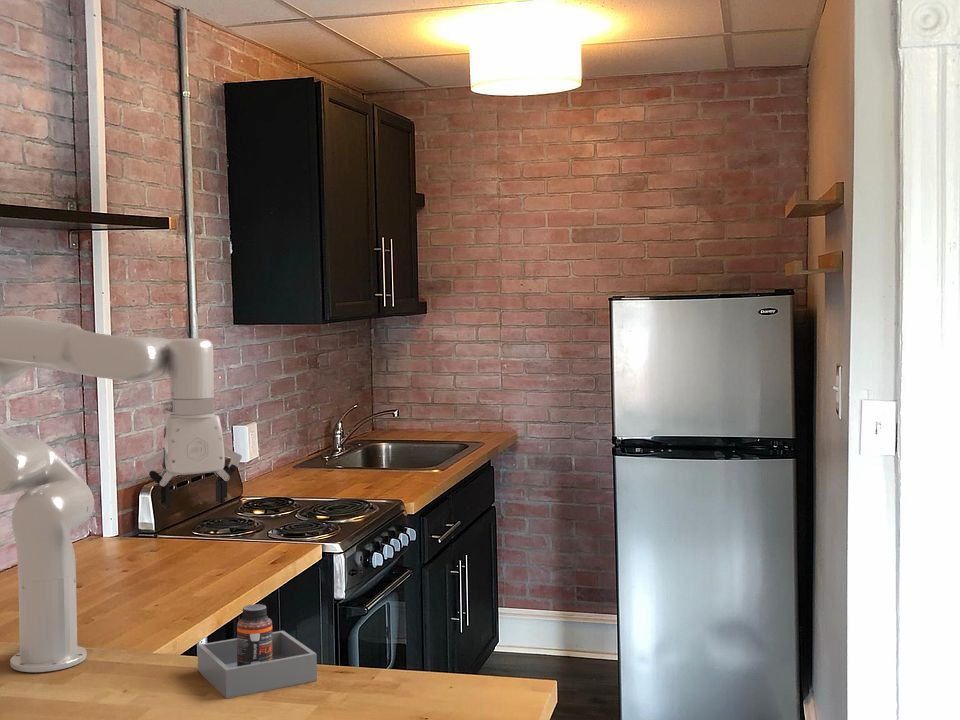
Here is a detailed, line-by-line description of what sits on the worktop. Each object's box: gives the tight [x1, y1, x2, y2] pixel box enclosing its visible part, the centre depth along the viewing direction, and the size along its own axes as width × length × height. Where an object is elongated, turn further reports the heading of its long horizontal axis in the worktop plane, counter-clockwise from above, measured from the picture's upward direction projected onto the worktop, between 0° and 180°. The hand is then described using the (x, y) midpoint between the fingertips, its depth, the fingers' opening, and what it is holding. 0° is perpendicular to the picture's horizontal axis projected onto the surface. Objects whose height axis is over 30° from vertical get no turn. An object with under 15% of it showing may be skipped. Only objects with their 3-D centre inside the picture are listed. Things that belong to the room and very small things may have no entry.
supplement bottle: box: [236, 603, 273, 667], centre depth 177 cm, size 6×6×11 cm
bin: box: [197, 630, 318, 699], centre depth 177 cm, size 16×16×5 cm
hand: (193, 505), depth 182 cm, fingers open, 9 cm apart
